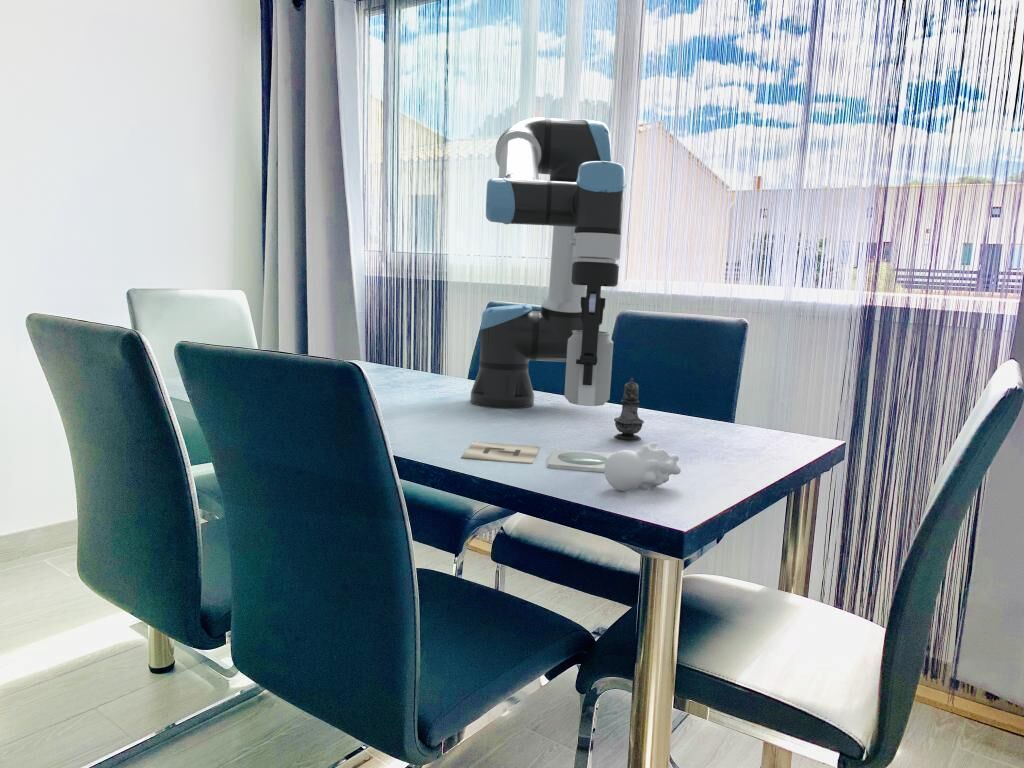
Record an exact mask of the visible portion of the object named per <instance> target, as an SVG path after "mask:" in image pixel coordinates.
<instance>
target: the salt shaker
mask: <svg viewBox="0 0 1024 768" xmlns="http://www.w3.org/2000/svg"><path fill="white" fill-rule="evenodd" d="M639 387H640V386H639V385H638V383H636V382H635V381H634V378H633V377H631V378H630V380H629V382H627V383H625V384H624V386H623V397H622V399H621V400H620V401H621V402H622V406H621V413H620V415H619V416H618V417H614V418H613V420H614V422H615V423H614V425H615V428H616V430H617V431H618V432H620V433H617V434H615V435H614V436H613V438H614V439H616V440H619V441H623V442H639V441H641V440H642V438H641V437H640V436H639V435H638V433H639V432H640V431H641V430H642V428H643V424H644V423H645V421H644V420H643V419H641V418H640V417H639V412H638V409H639V408H638V407H639V404H640V403H641V402H640V400H639V389H640V388H639Z"/></svg>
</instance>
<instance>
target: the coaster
mask: <svg viewBox="0 0 1024 768" xmlns="http://www.w3.org/2000/svg"><path fill="white" fill-rule="evenodd" d="M614 453H615V452H614ZM614 453H611V452H599V451H586V450H585V451H584V450H573V449H563V448H562V449H561V448H560V449H559V448H552V449H551V452H550V456H549V458H548V462H547V466H546V467H547V468H549V469H560V470H561V469H562V470H572V471H574V470H575V471H583V472H584V471H585V472H586V471H587V472H596V473H597V472H598V473H604V467H605V463H606V461H607V459H608V458H609V457H610V456H611V455H612V454H614Z"/></svg>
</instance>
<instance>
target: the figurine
mask: <svg viewBox="0 0 1024 768" xmlns="http://www.w3.org/2000/svg"><path fill="white" fill-rule="evenodd" d="M679 459H680V457H679V455H678V454H674V453H673V454H670V453H669V452H667V451H666V450H665V449H664V448H659V444H658V442H655V441H651V442H649V443H647V444H643V445H640V447H638V448H637V449H636V450H628V449H622V450H618V451H615V452H614V454H612V455H611V456H610V457H609V458H608V459H607V461H606V463H605V467H604V472H603V473H604V478H605V480H606V482H607V483H608V485H610V486H611V487H612V488H613V489H615V491H616V490H617V491H620V492H630V491H634V490H635V489H639V490H642V491H648V490H650V489H651V488H656V487H659V486H662V485H663V484H665V483H667V482H669V481H670V476H671V475H679V474H680V473H681V471H682V470H681V467H679V466H678V465H677V462H678V461H679Z"/></svg>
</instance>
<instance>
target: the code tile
mask: <svg viewBox="0 0 1024 768" xmlns="http://www.w3.org/2000/svg"><path fill="white" fill-rule="evenodd" d="M539 451H540V446H538V445H537V446H535V445H525V444H524V445H523V444H511V443H500V442H499V443H497V442H488V441H486V442H485V441H473V442H472V443H471V444H470V446H468V448H467V449H466V450H465V451H464V453H463V454H462V455H461V457H460V458H461V459H464V460H465V459H467V460H468V459H469V460H477V461H478V460H480V461H490V462H504V463H515V464H528V465H533V464H534V463H535V460H536V457H537V455H538V452H539Z"/></svg>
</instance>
